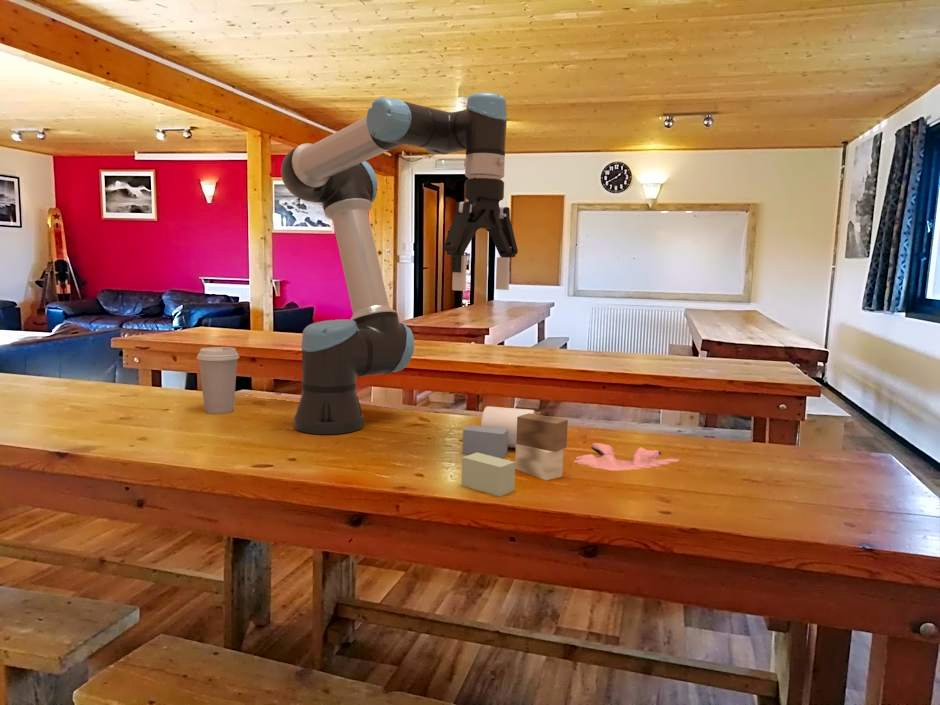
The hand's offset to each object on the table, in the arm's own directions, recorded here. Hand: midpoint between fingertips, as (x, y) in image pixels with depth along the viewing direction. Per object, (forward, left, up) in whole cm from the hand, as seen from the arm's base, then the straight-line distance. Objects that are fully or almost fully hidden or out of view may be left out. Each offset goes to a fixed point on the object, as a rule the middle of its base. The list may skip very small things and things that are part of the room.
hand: (481, 290), depth 133 cm
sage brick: (+17, -18, -32) cm, 40 cm away
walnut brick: (+19, -5, -27) cm, 33 cm away
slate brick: (+4, -2, -32) cm, 32 cm away
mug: (+3, +7, -32) cm, 33 cm away
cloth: (+25, +16, -33) cm, 44 cm away
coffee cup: (-64, -19, -32) cm, 74 cm away
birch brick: (+18, -5, -32) cm, 37 cm away
